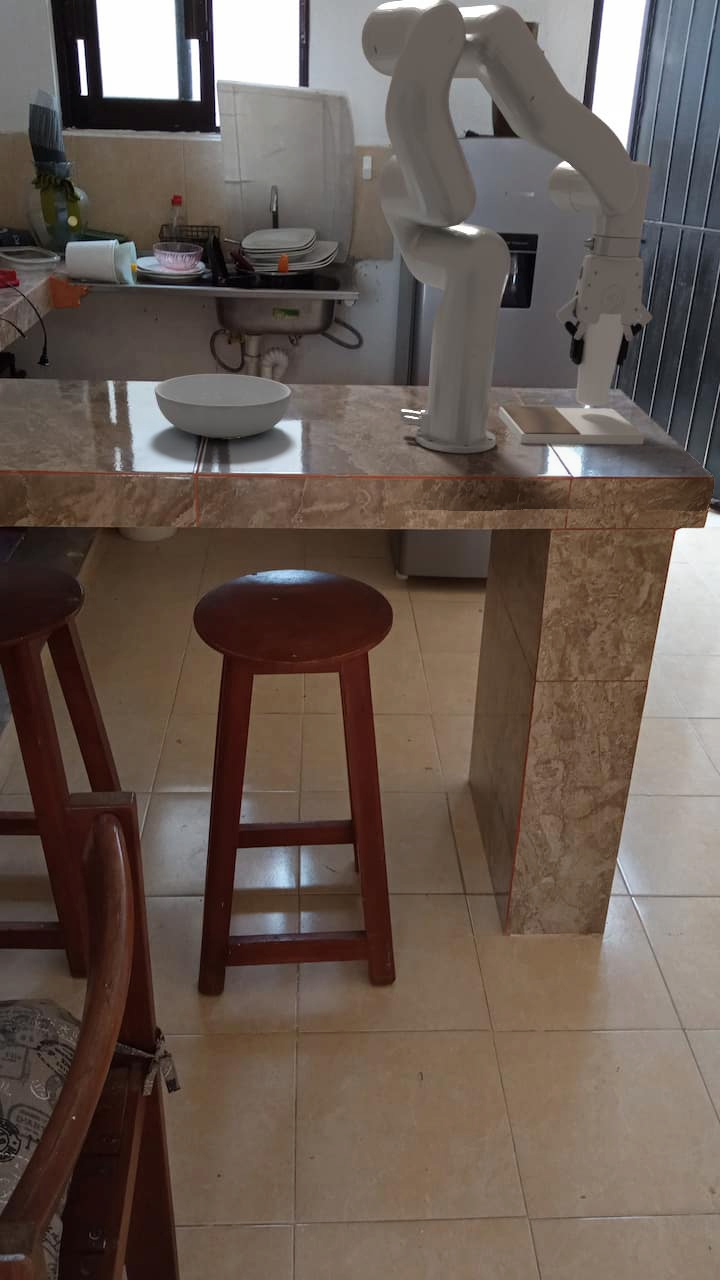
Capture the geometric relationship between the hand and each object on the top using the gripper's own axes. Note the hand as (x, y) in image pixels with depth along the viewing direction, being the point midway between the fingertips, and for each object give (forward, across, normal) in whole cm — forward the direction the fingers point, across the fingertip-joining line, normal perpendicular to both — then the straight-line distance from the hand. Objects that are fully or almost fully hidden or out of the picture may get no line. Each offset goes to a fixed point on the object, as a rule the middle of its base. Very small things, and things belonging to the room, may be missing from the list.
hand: (597, 362), depth 165 cm
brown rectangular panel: (+10, -10, -4) cm, 15 cm away
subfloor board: (+10, -5, -4) cm, 12 cm away
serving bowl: (+11, -61, -7) cm, 62 cm away
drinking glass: (+7, 0, 0) cm, 7 cm away
